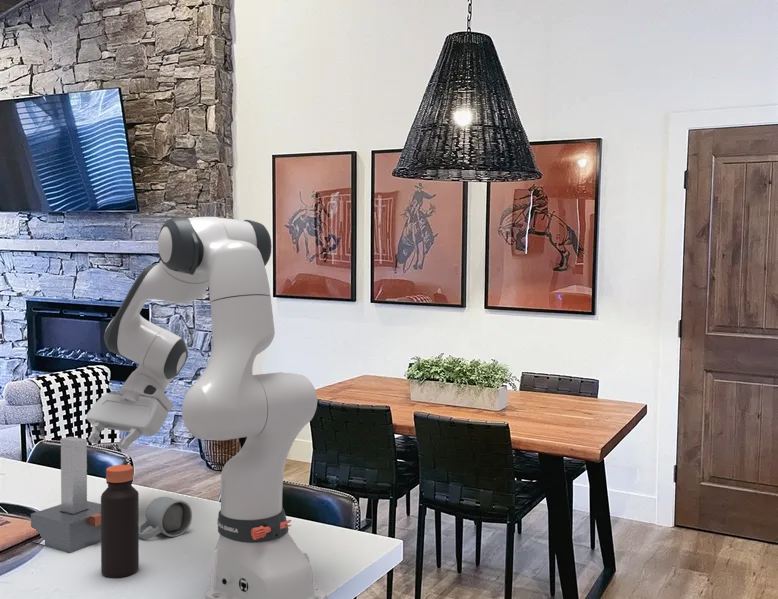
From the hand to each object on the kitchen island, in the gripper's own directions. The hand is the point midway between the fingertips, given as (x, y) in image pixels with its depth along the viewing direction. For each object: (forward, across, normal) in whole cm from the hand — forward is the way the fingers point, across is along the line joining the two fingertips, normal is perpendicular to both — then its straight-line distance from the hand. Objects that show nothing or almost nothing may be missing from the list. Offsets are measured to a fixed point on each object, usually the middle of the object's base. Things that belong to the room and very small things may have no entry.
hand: (106, 444), depth 172 cm
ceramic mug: (+11, +14, +16) cm, 23 cm away
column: (+19, 0, +7) cm, 20 cm away
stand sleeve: (+19, 0, +7) cm, 20 cm away
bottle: (+24, +22, +2) cm, 33 cm away
